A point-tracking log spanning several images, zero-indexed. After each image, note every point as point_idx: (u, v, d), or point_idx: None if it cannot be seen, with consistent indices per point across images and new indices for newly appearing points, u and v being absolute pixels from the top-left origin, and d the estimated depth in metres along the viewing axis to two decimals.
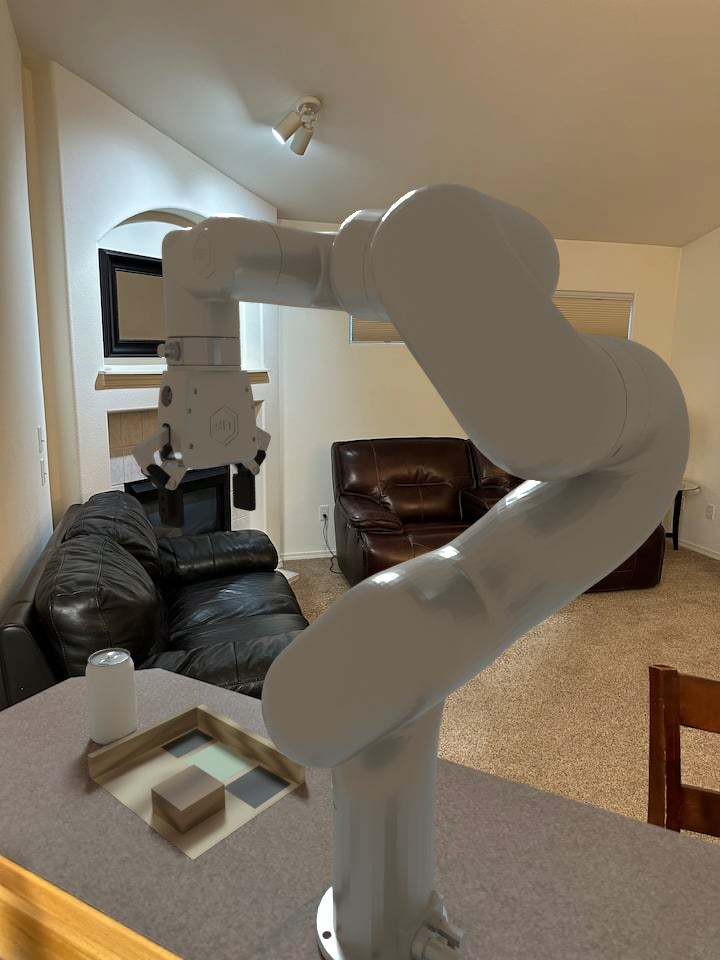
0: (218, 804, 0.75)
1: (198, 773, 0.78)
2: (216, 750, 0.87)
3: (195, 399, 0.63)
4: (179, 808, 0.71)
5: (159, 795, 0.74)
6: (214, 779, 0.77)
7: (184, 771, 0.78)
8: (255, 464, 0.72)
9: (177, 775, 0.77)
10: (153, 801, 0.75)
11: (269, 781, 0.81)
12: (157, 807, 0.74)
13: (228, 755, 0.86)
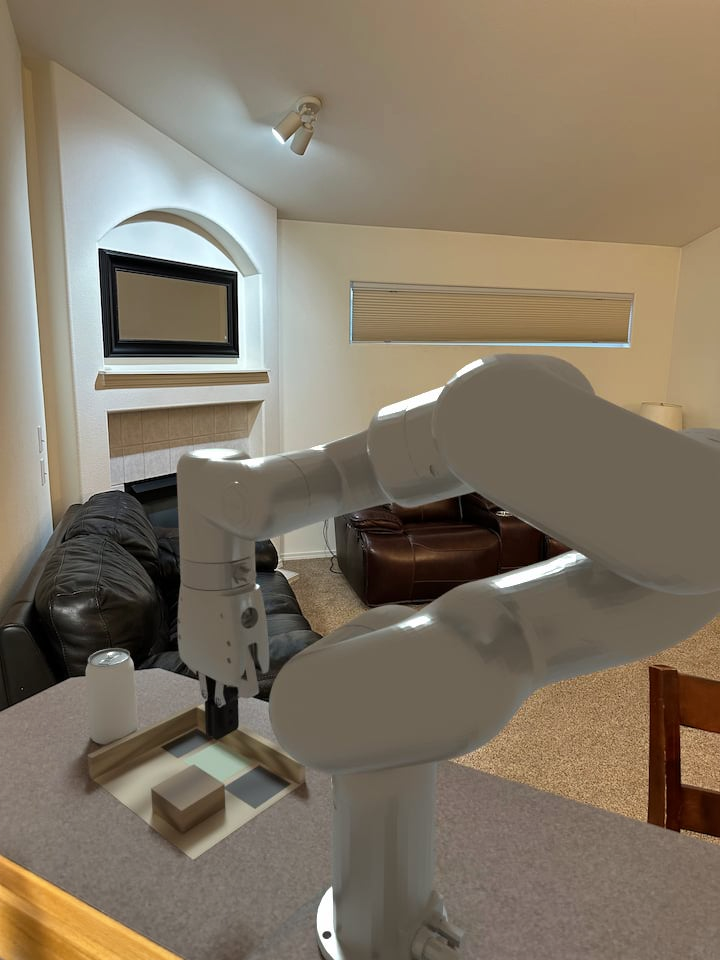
0: (218, 804, 0.75)
1: (198, 773, 0.78)
2: (216, 750, 0.87)
3: None
4: (179, 808, 0.71)
5: (159, 795, 0.74)
6: (214, 779, 0.77)
7: (184, 771, 0.78)
8: None
9: (177, 775, 0.77)
10: (153, 801, 0.75)
11: (269, 781, 0.81)
12: (157, 807, 0.74)
13: (228, 755, 0.86)
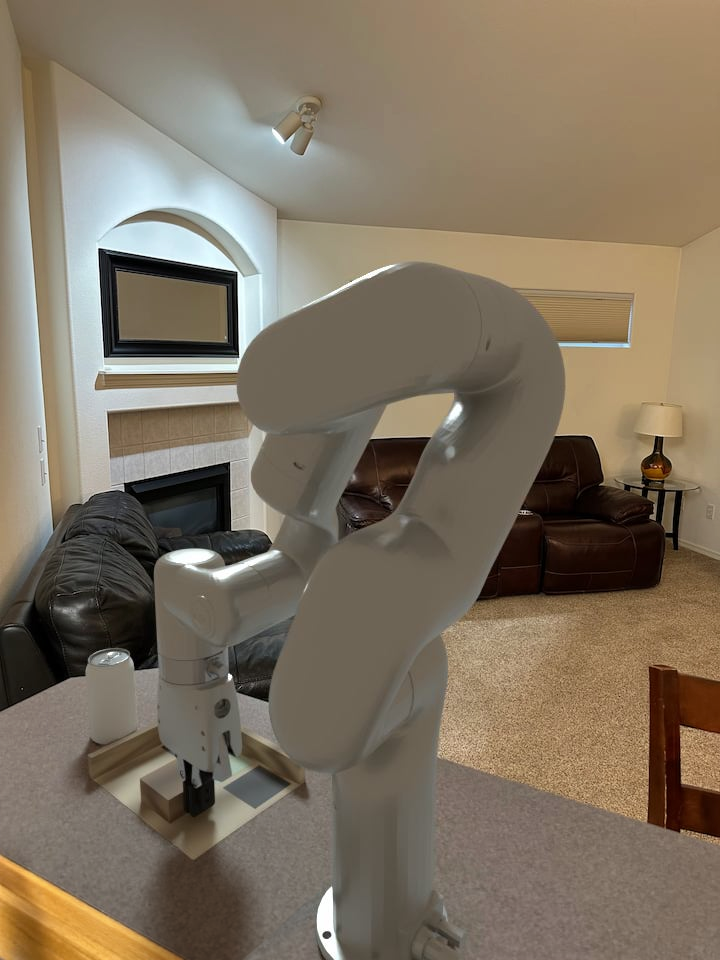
0: None
1: None
2: None
3: None
4: (166, 798, 0.73)
5: (147, 785, 0.76)
6: None
7: (173, 762, 0.80)
8: None
9: (166, 766, 0.79)
10: (142, 791, 0.77)
11: (269, 781, 0.81)
12: (145, 797, 0.76)
13: None
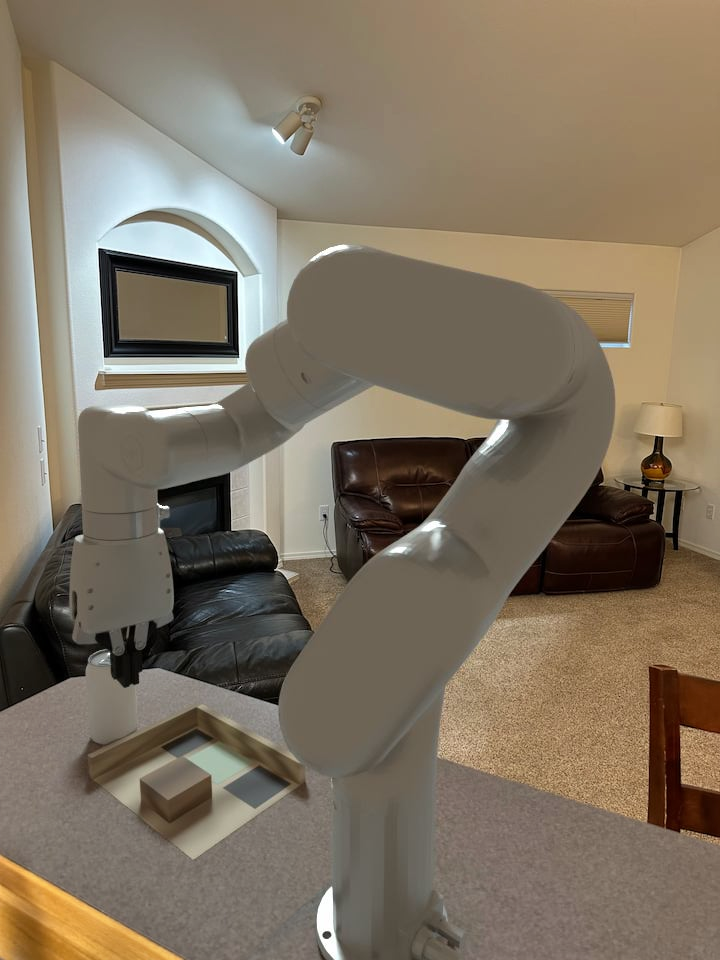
0: (205, 794, 0.77)
1: (186, 764, 0.79)
2: (216, 750, 0.87)
3: None
4: (166, 797, 0.73)
5: (147, 785, 0.76)
6: (201, 770, 0.78)
7: (172, 762, 0.80)
8: None
9: (165, 766, 0.79)
10: (141, 791, 0.77)
11: (269, 781, 0.81)
12: (145, 797, 0.76)
13: (228, 755, 0.86)
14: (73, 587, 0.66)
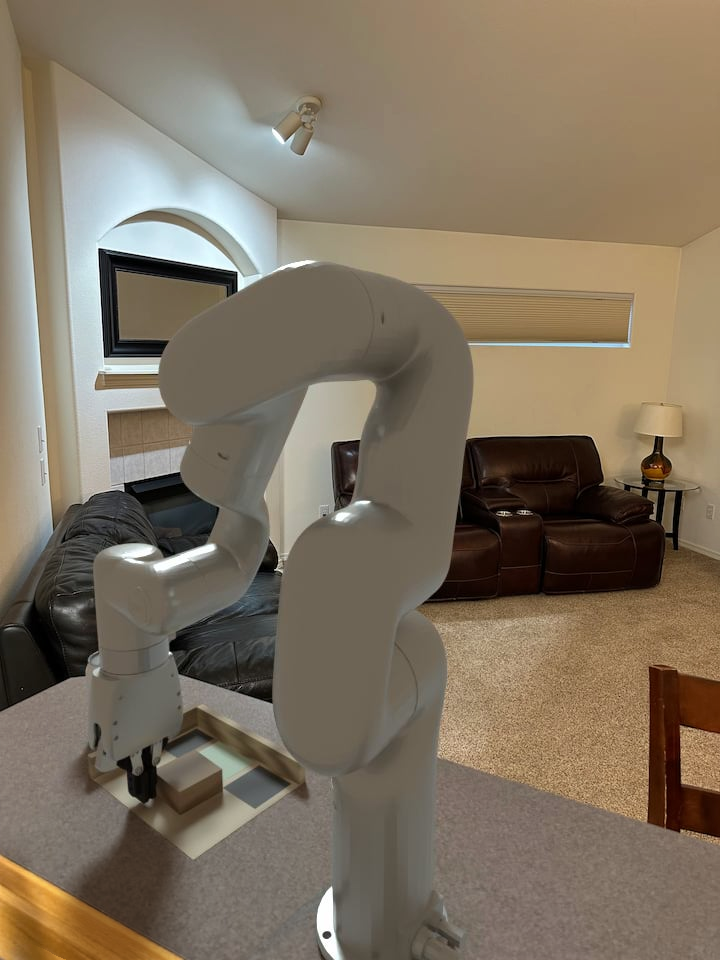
0: (216, 788, 0.78)
1: (198, 758, 0.81)
2: (216, 750, 0.87)
3: None
4: (177, 790, 0.75)
5: (159, 777, 0.77)
6: (213, 764, 0.79)
7: (185, 755, 0.81)
8: None
9: (178, 759, 0.80)
10: None
11: (269, 781, 0.81)
12: (158, 788, 0.78)
13: (228, 755, 0.86)
14: (96, 720, 0.71)
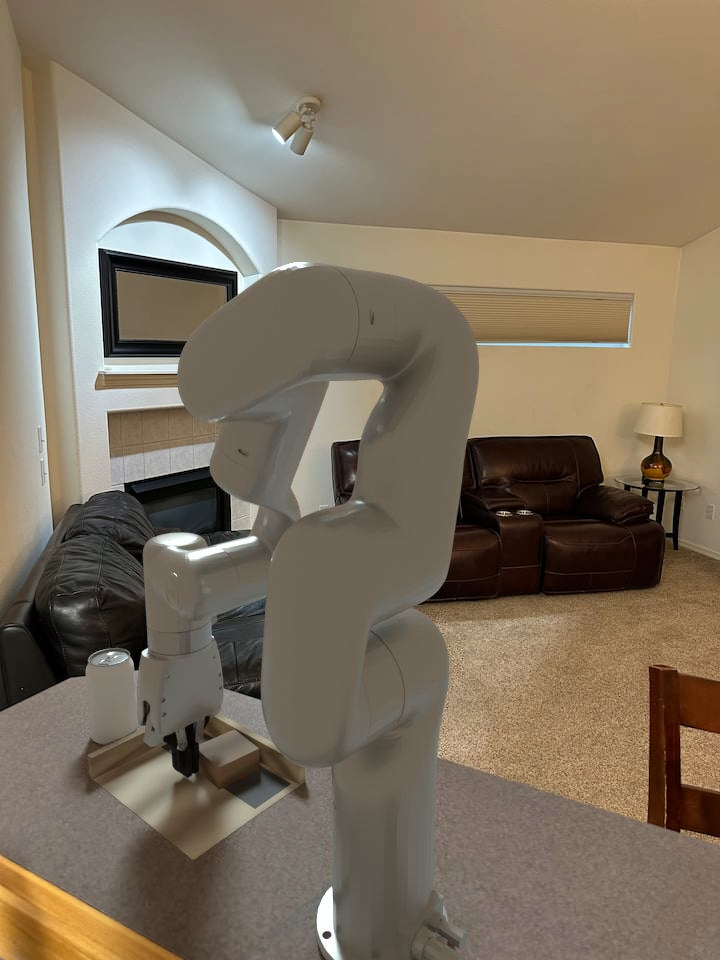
0: (253, 766, 0.82)
1: (237, 737, 0.85)
2: None
3: None
4: (216, 765, 0.79)
5: (200, 753, 0.82)
6: (250, 743, 0.84)
7: (225, 734, 0.86)
8: None
9: (218, 737, 0.85)
10: None
11: (269, 781, 0.81)
12: (199, 764, 0.83)
13: None
14: (145, 698, 0.75)
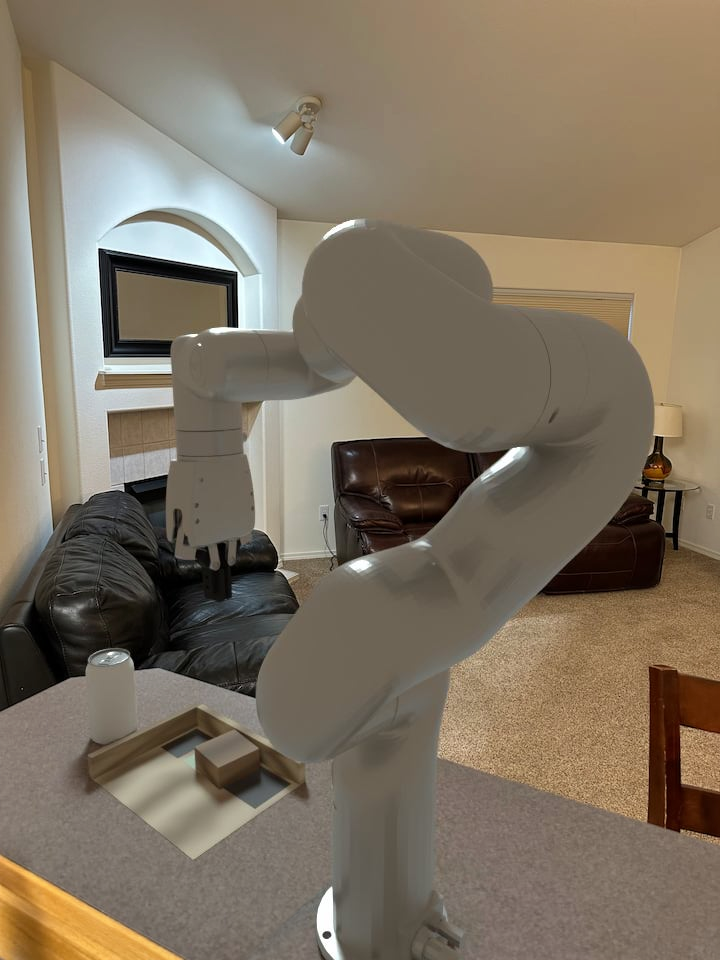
0: (253, 766, 0.82)
1: (237, 737, 0.85)
2: None
3: None
4: (216, 765, 0.79)
5: (201, 753, 0.82)
6: (250, 743, 0.84)
7: (225, 734, 0.86)
8: None
9: (218, 737, 0.85)
10: (196, 758, 0.83)
11: (269, 781, 0.81)
12: (199, 764, 0.83)
13: None
14: (176, 506, 0.70)
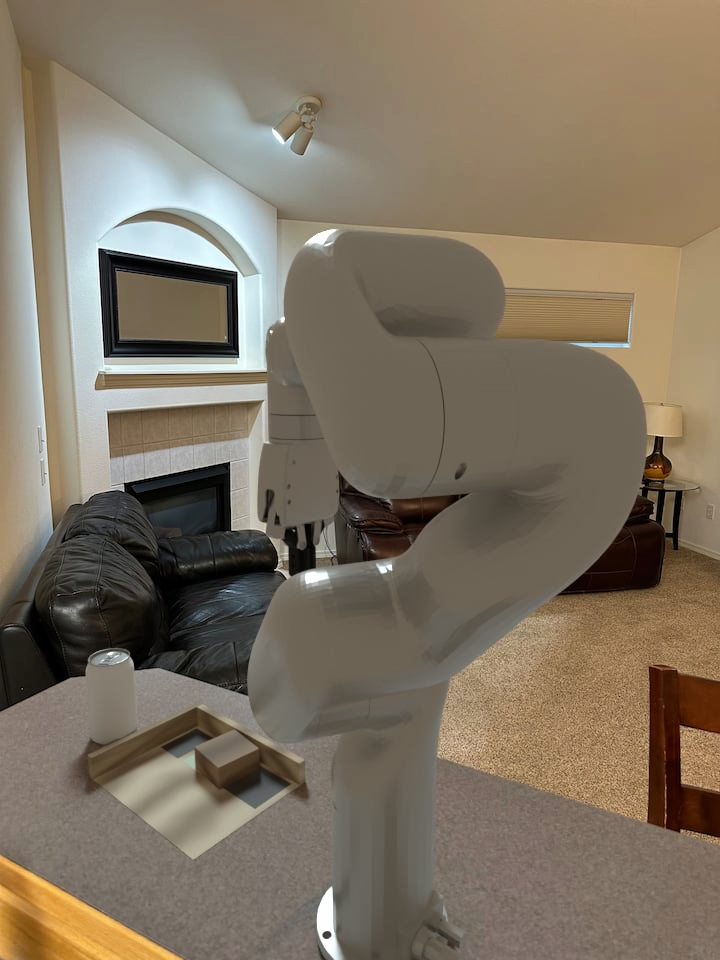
0: (253, 766, 0.82)
1: (237, 737, 0.85)
2: None
3: None
4: (216, 765, 0.79)
5: (201, 753, 0.82)
6: (250, 743, 0.84)
7: (225, 734, 0.86)
8: None
9: (218, 737, 0.85)
10: (196, 758, 0.83)
11: (269, 781, 0.81)
12: (199, 764, 0.83)
13: None
14: (268, 487, 0.73)
